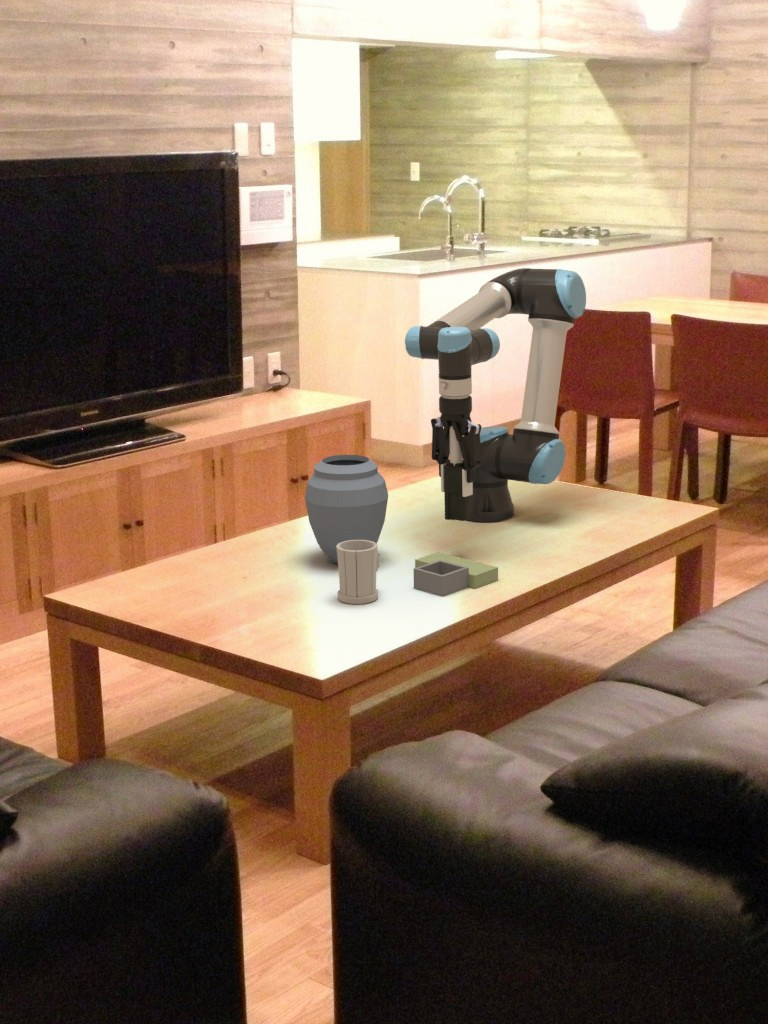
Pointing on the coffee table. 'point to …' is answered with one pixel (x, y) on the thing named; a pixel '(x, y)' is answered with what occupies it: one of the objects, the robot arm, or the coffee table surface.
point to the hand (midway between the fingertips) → (456, 492)
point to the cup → (357, 571)
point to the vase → (345, 501)
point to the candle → (455, 483)
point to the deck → (451, 574)
